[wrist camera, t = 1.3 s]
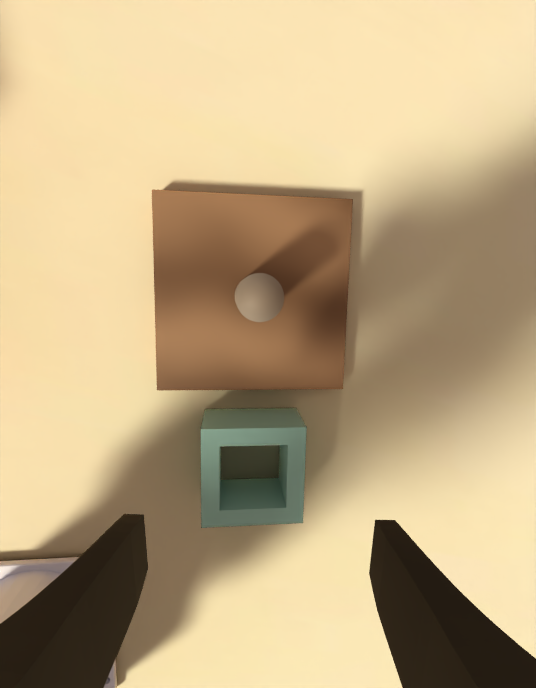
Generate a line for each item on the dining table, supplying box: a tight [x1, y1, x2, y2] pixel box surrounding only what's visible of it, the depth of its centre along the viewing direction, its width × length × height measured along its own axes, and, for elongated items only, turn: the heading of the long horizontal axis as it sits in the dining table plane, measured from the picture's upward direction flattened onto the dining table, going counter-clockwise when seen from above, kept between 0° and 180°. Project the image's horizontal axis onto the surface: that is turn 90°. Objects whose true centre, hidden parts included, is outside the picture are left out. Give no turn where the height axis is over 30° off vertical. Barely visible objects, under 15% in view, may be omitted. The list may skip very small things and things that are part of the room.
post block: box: [152, 190, 353, 390], centre depth 17 cm, size 10×10×5 cm
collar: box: [201, 408, 307, 528], centre depth 20 cm, size 5×5×3 cm
